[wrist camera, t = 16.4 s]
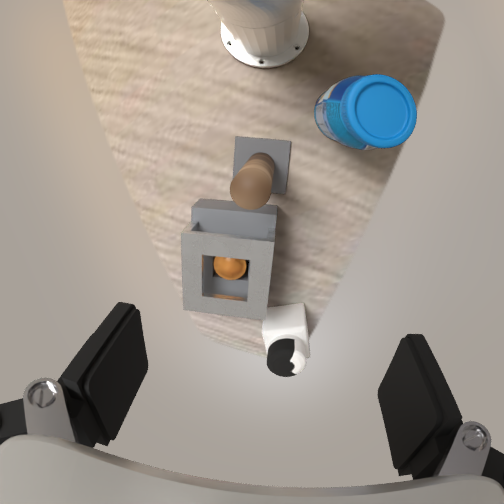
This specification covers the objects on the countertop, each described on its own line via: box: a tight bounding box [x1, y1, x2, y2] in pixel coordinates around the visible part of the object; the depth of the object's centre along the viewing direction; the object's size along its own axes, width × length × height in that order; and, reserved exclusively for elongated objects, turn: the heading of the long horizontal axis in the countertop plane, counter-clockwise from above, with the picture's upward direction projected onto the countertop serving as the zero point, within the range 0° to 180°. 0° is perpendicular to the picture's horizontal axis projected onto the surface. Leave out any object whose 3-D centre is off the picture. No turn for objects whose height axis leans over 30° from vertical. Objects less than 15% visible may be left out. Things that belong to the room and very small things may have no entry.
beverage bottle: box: [314, 74, 417, 150], centre depth 31 cm, size 8×8×20 cm
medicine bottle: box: [262, 303, 310, 377], centre depth 50 cm, size 7×7×12 cm
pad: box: [233, 137, 291, 194], centre depth 45 cm, size 8×8×1 cm
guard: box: [181, 221, 275, 320], centre depth 44 cm, size 12×12×5 cm
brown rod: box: [230, 152, 275, 210], centre depth 37 cm, size 4×4×16 cm
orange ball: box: [214, 256, 246, 280], centre depth 48 cm, size 5×5×6 cm
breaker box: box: [191, 199, 277, 298], centre depth 48 cm, size 16×12×5 cm
